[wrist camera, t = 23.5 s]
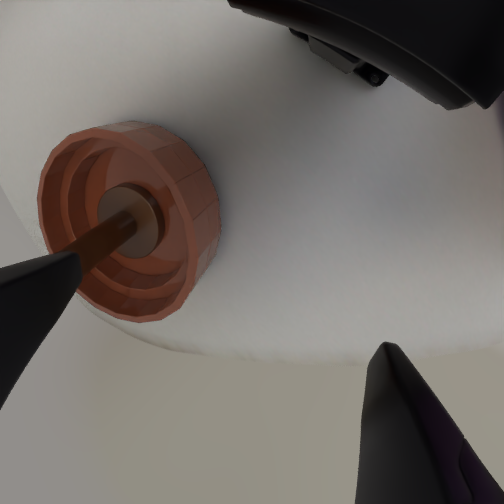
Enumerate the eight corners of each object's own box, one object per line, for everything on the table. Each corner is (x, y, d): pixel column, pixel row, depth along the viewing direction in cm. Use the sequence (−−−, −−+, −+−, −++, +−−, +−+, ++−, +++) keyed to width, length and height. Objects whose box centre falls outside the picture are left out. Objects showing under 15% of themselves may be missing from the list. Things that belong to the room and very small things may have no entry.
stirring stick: (116, 168, 20) (-28, 242, 9) (176, 210, 21) (46, 325, 9) (97, 227, 23) (-15, 312, 12) (149, 266, 23) (49, 378, 12)
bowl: (106, 92, 18) (60, 95, 14) (261, 187, 19) (243, 212, 15) (65, 228, 25) (31, 251, 21) (177, 313, 26) (153, 350, 22)
